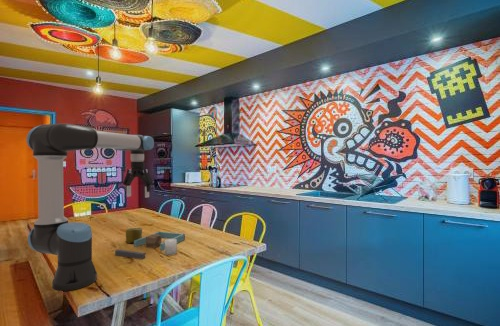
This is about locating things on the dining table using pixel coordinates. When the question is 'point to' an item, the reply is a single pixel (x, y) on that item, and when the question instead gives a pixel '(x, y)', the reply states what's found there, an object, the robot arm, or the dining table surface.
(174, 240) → the white rounded capsule
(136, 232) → the mug
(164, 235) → the teal u-shaped frame
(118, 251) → the bar
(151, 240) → the walnut block
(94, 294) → the dining table surface
